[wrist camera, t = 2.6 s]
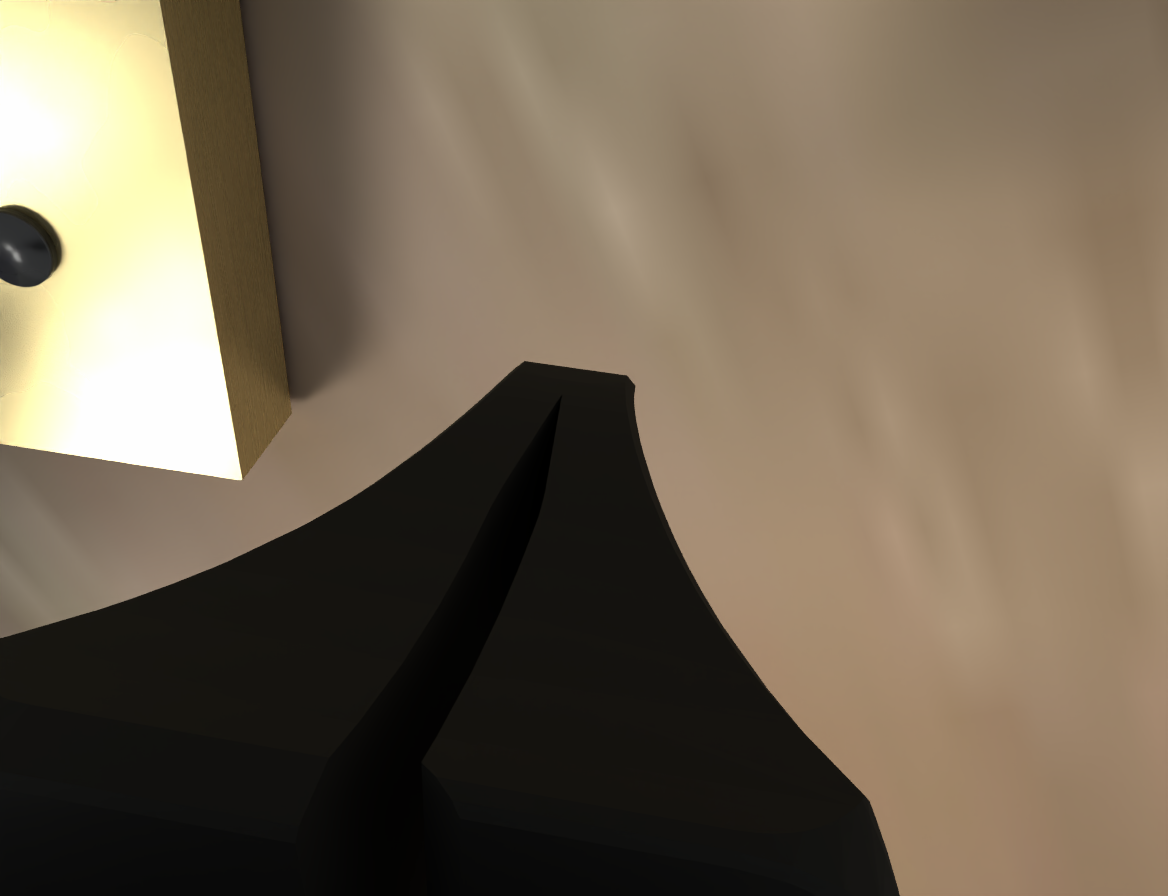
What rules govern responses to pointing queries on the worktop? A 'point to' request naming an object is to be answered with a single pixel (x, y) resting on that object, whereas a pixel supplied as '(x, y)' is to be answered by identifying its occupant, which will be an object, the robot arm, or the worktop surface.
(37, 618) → the worktop surface
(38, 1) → the brass plate
